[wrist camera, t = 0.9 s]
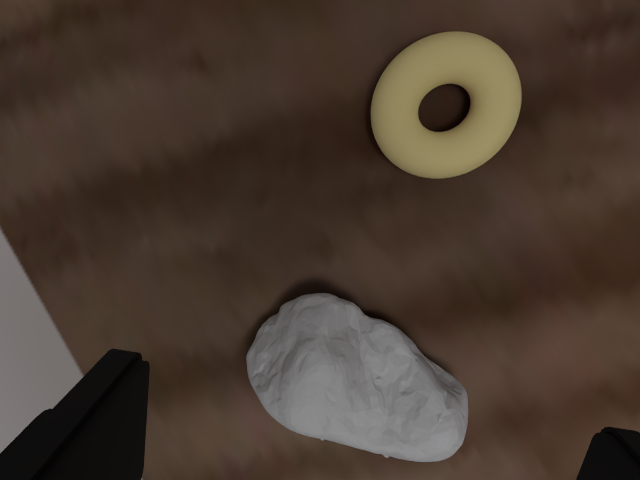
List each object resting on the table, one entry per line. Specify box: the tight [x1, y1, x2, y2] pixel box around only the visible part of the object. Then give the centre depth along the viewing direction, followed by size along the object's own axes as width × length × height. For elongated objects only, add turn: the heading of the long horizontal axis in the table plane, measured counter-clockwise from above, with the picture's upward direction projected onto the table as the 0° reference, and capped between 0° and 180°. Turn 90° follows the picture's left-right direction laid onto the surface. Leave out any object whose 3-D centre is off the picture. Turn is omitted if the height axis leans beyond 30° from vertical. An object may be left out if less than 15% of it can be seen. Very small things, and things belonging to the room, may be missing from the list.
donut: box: [371, 31, 522, 179], centre depth 30 cm, size 10×5×9 cm
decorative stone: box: [246, 293, 468, 462], centre depth 34 cm, size 17×10×10 cm
